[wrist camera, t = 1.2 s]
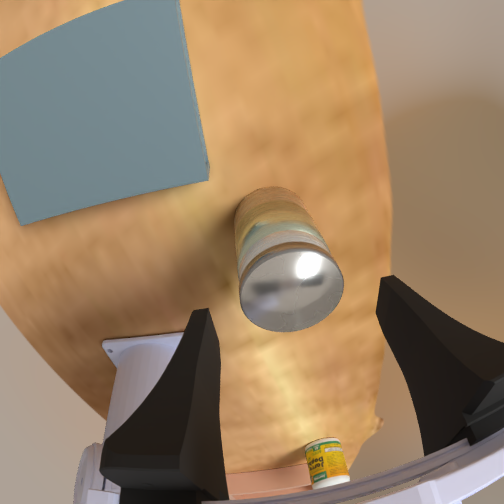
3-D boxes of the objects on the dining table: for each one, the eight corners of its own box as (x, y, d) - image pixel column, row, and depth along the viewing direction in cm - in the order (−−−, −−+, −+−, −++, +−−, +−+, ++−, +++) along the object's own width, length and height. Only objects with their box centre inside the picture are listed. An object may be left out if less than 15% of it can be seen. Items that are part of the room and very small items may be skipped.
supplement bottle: (327, 450, 42) (339, 503, 34) (297, 451, 40) (307, 507, 32) (346, 435, 39) (361, 492, 31) (316, 436, 38) (329, 497, 30)
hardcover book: (209, 165, 18) (208, 180, 16) (37, 208, 18) (21, 226, 16) (178, -3, 12) (172, -13, 10) (-3, 70, 12) (-25, 75, 10)
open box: (318, 482, 54) (322, 498, 51) (239, 493, 54) (241, 509, 51) (322, 460, 45) (327, 480, 41) (223, 474, 45) (224, 494, 41)
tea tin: (309, 246, 21) (341, 322, 15) (239, 258, 21) (248, 339, 15) (305, 180, 18) (345, 242, 13) (227, 192, 18) (231, 262, 13)
